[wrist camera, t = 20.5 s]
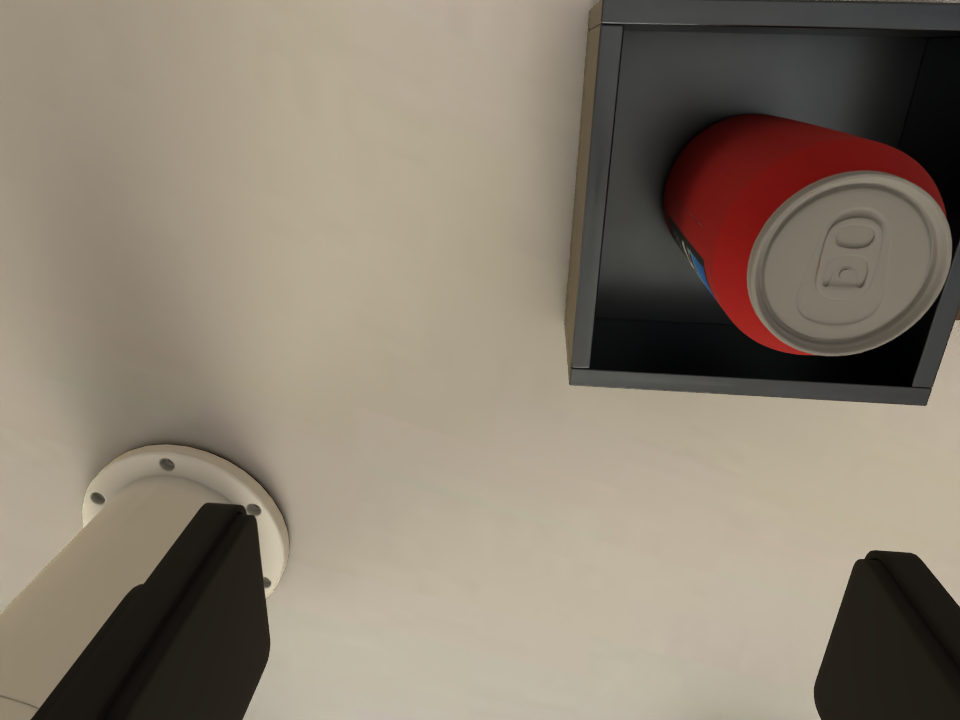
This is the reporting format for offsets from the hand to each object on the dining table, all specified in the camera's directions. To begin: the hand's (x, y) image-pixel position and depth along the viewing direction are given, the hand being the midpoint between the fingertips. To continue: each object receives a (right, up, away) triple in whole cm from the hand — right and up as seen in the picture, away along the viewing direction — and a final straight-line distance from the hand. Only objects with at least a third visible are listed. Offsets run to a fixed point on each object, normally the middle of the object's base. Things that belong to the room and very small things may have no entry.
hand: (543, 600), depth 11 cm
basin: (+10, +12, +20) cm, 26 cm away
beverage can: (+10, +11, +19) cm, 25 cm away
